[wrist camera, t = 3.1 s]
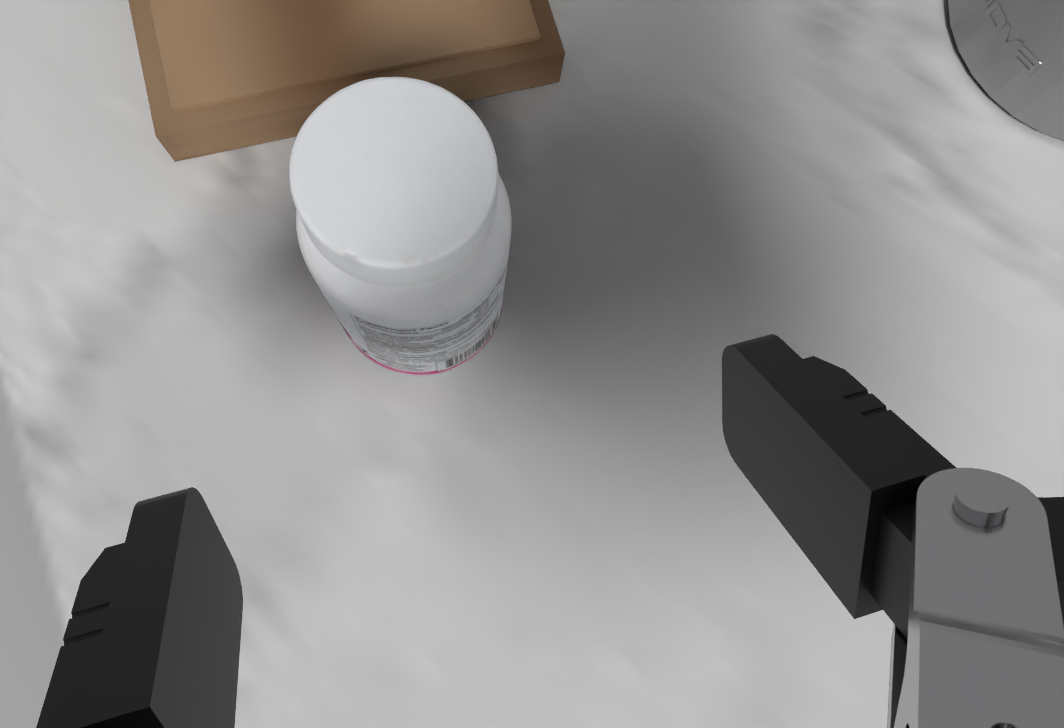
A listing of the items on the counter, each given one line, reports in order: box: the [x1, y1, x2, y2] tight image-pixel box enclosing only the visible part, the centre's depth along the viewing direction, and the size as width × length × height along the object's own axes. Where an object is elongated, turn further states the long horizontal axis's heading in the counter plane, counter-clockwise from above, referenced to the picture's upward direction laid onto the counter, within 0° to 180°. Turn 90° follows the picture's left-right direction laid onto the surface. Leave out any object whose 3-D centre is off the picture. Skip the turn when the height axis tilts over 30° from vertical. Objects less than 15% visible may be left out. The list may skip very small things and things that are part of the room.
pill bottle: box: [289, 77, 512, 376], centre depth 19 cm, size 5×5×8 cm
